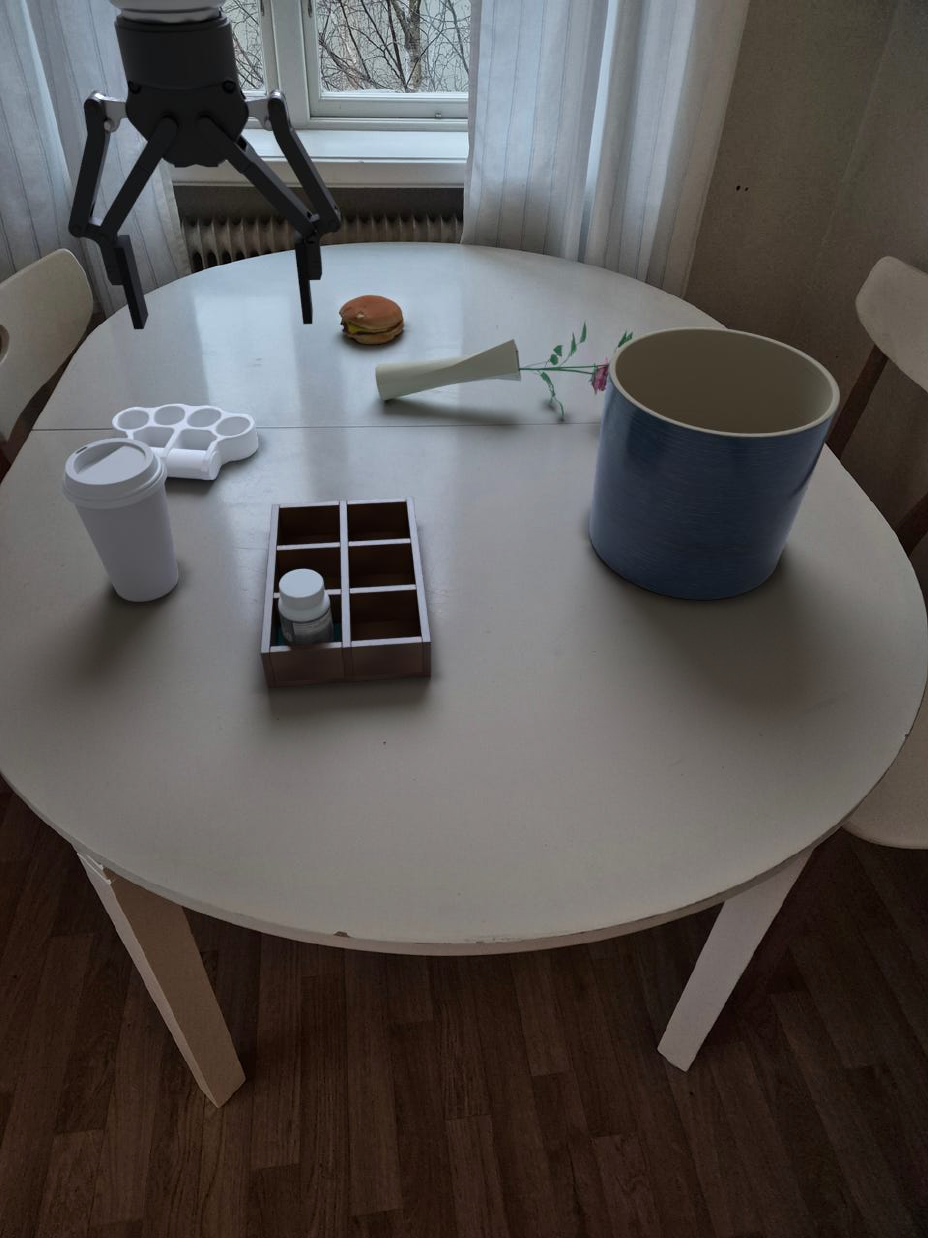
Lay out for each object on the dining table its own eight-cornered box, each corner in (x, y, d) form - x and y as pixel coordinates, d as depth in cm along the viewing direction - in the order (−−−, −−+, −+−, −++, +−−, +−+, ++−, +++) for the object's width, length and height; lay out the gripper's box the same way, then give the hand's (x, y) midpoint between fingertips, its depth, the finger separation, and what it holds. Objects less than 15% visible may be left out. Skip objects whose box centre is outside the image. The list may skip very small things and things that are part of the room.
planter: (545, 524, 99) (562, 362, 86) (677, 463, 109) (712, 309, 95) (688, 633, 87) (736, 464, 73) (823, 553, 97) (887, 390, 83)
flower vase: (401, 433, 127) (642, 397, 121) (385, 455, 116) (648, 416, 110) (384, 351, 122) (634, 309, 116) (365, 366, 111) (640, 320, 105)
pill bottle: (283, 634, 84) (272, 568, 79) (331, 627, 85) (324, 562, 79) (287, 669, 81) (276, 603, 75) (337, 661, 82) (330, 596, 76)
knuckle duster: (92, 479, 104) (136, 417, 115) (238, 489, 103) (269, 425, 114) (84, 455, 102) (129, 394, 112) (234, 465, 101) (265, 402, 111)
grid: (267, 687, 80) (260, 653, 77) (277, 537, 97) (271, 503, 94) (431, 675, 82) (431, 641, 79) (413, 529, 98) (413, 496, 95)
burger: (405, 319, 138) (404, 290, 135) (402, 345, 131) (401, 316, 128) (343, 318, 138) (341, 289, 134) (337, 345, 131) (334, 315, 128)
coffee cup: (168, 541, 96) (136, 422, 85) (209, 586, 90) (180, 465, 80) (84, 576, 91) (39, 455, 81) (122, 625, 86) (79, 502, 76)
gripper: (358, 1, 61) (374, 296, 75) (-11, -1, 58) (79, 304, 73) (361, 21, 55) (377, 334, 70) (-45, 20, 53) (59, 345, 68)
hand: (225, 320), depth 72 cm, fingers open, 13 cm apart
